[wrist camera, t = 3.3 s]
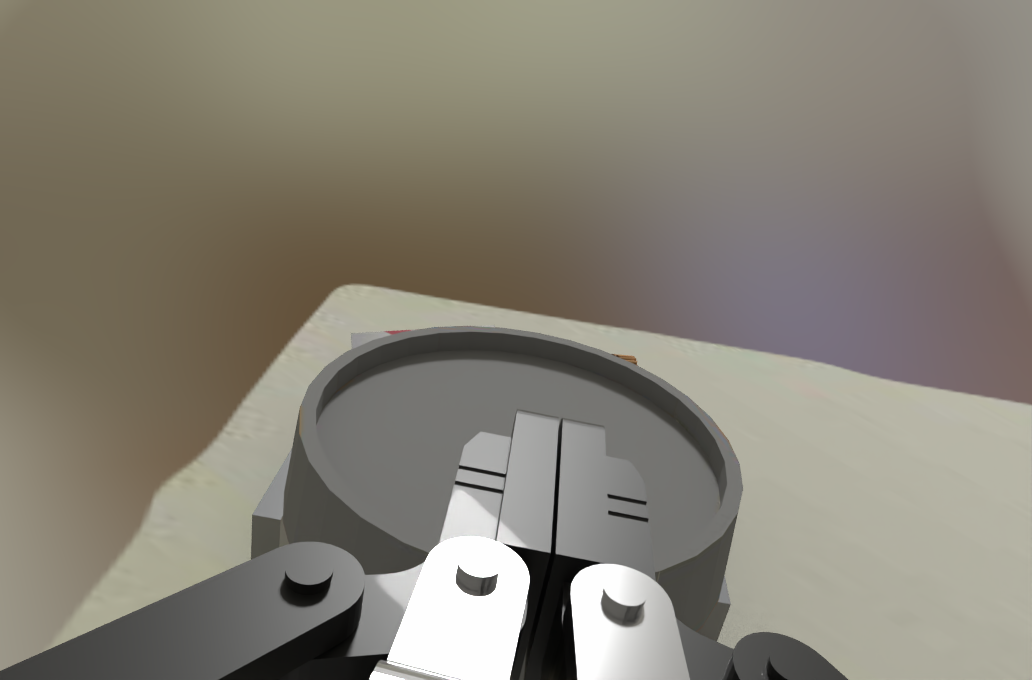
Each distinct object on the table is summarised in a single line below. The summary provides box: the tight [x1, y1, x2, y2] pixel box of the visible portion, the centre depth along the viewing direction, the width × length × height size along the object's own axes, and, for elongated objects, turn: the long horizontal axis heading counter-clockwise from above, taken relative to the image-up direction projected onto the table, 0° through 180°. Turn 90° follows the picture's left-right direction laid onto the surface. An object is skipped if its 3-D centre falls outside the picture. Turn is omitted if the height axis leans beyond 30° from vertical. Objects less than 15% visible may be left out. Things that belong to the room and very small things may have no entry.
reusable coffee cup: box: [283, 326, 743, 680], centre depth 26 cm, size 13×13×15 cm
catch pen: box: [251, 450, 731, 642], centre depth 41 cm, size 14×20×4 cm
